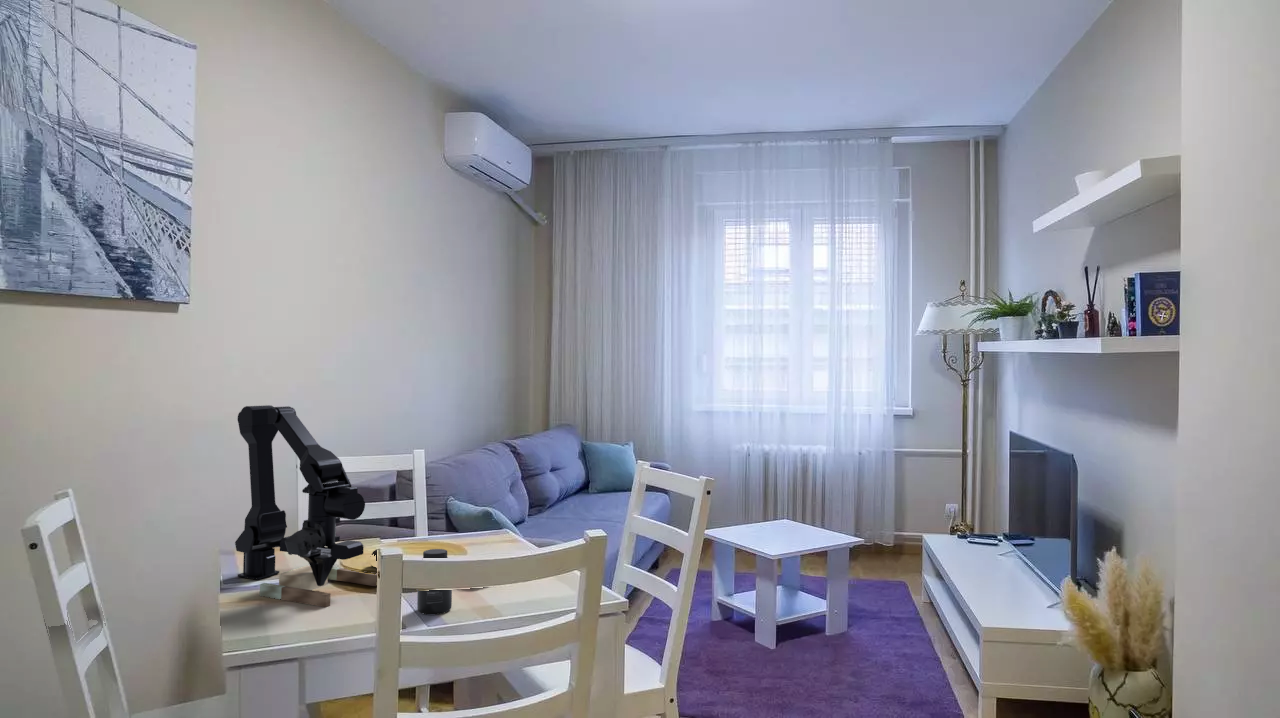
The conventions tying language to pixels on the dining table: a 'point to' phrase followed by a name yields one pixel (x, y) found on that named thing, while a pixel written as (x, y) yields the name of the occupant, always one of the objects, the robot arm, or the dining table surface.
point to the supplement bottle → (434, 591)
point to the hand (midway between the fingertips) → (320, 585)
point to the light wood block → (300, 578)
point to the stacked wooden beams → (316, 596)
